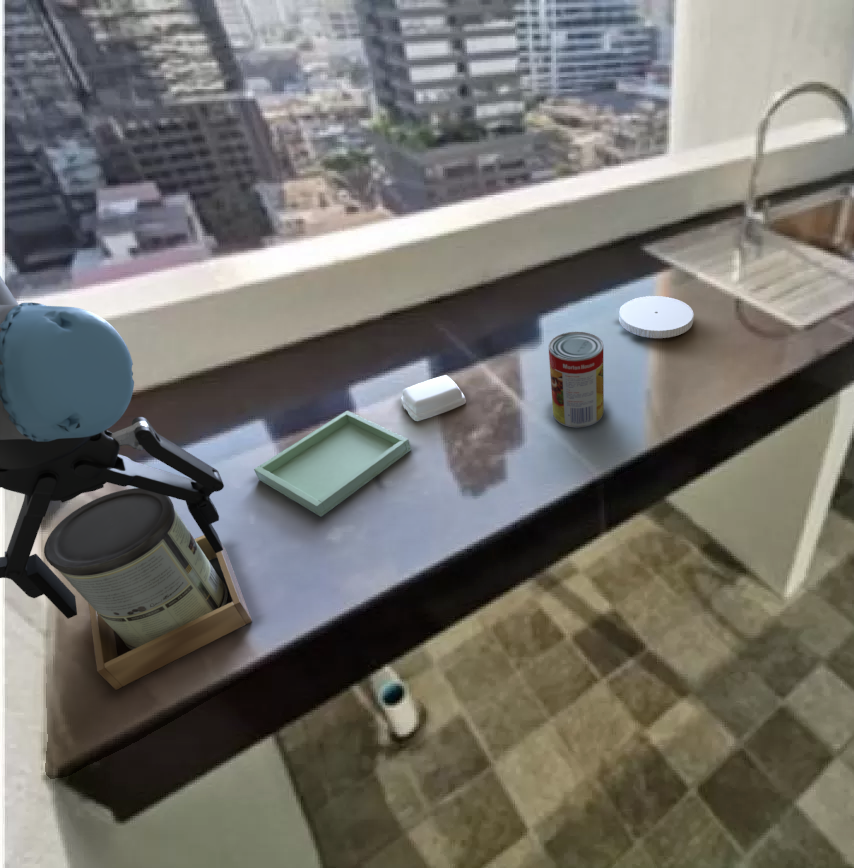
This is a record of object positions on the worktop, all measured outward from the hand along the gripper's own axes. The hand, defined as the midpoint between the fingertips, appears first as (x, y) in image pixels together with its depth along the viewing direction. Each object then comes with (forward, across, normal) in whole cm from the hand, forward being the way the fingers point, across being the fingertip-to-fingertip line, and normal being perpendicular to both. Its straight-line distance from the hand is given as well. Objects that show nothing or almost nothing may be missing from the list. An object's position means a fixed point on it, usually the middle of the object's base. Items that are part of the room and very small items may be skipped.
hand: (147, 574), depth 62 cm
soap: (+7, -40, -19) cm, 44 cm away
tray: (+7, -22, -13) cm, 27 cm away
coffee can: (+7, 0, 0) cm, 7 cm away
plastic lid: (+7, -84, -16) cm, 86 cm away
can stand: (+7, 0, 0) cm, 7 cm away
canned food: (+7, -56, -2) cm, 56 cm away
